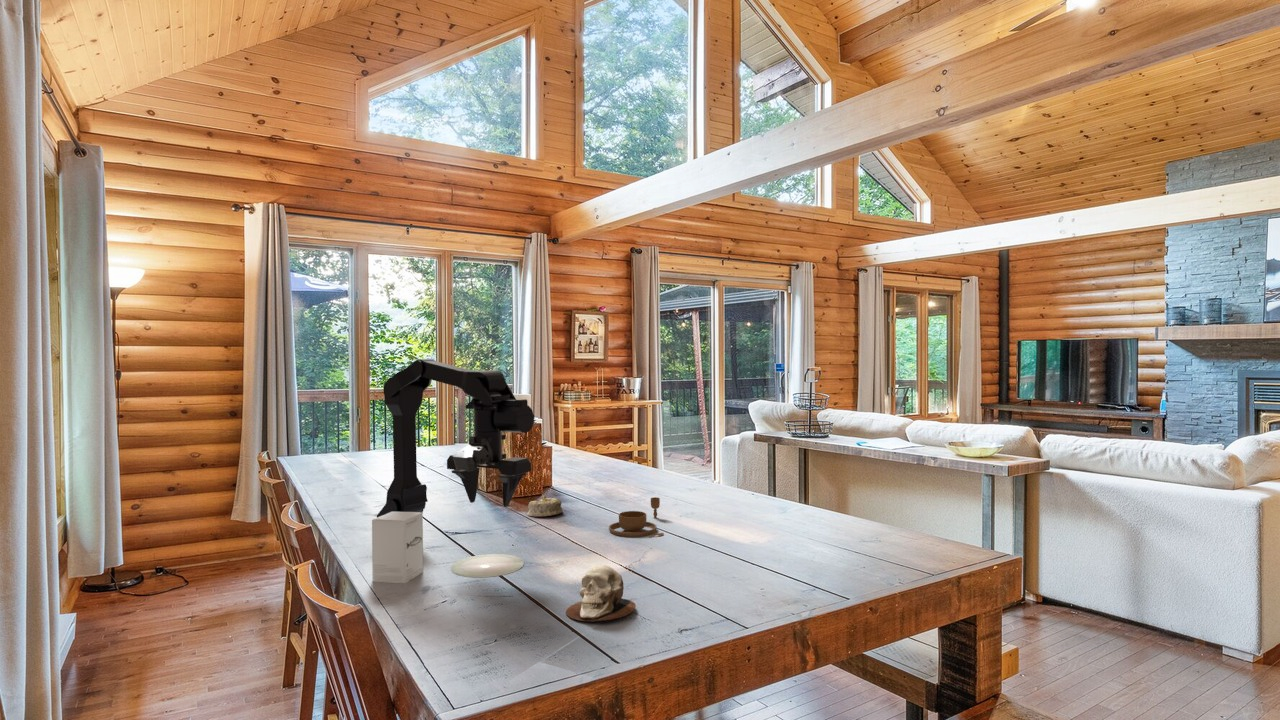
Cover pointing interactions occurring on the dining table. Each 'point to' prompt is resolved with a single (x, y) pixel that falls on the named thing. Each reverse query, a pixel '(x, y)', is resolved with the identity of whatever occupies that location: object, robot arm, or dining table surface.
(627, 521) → the place setting
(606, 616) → the skull
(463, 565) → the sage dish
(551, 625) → the dining table surface
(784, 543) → the dining table surface
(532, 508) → the cake
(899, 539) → the dining table surface
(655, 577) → the dining table surface
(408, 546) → the supplement box
